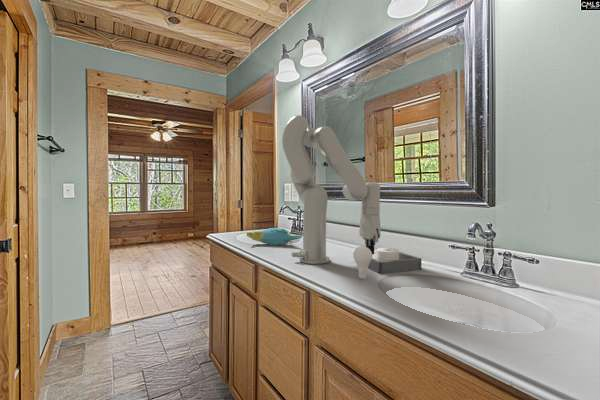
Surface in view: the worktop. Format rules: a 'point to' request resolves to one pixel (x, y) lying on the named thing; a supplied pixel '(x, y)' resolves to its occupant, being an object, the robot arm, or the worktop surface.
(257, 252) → the worktop surface
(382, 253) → the toilet paper
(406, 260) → the box
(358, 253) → the lightbulb
